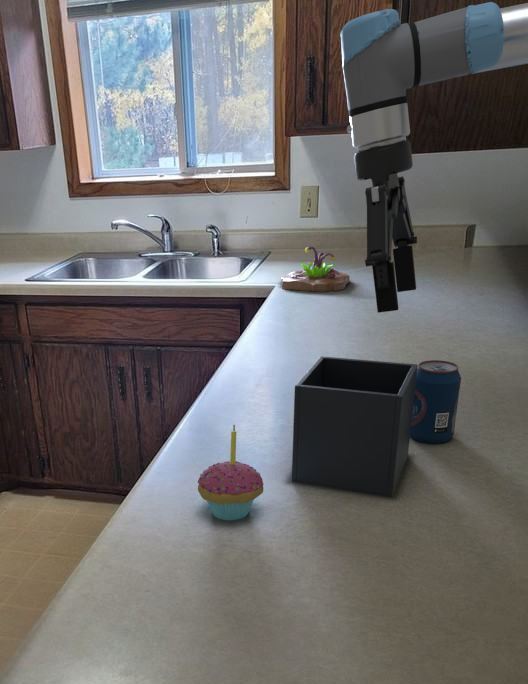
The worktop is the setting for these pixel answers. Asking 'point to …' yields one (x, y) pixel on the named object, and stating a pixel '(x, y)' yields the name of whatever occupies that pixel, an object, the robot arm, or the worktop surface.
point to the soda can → (435, 401)
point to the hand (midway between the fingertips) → (397, 300)
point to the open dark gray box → (353, 424)
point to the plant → (316, 276)
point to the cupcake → (230, 486)
